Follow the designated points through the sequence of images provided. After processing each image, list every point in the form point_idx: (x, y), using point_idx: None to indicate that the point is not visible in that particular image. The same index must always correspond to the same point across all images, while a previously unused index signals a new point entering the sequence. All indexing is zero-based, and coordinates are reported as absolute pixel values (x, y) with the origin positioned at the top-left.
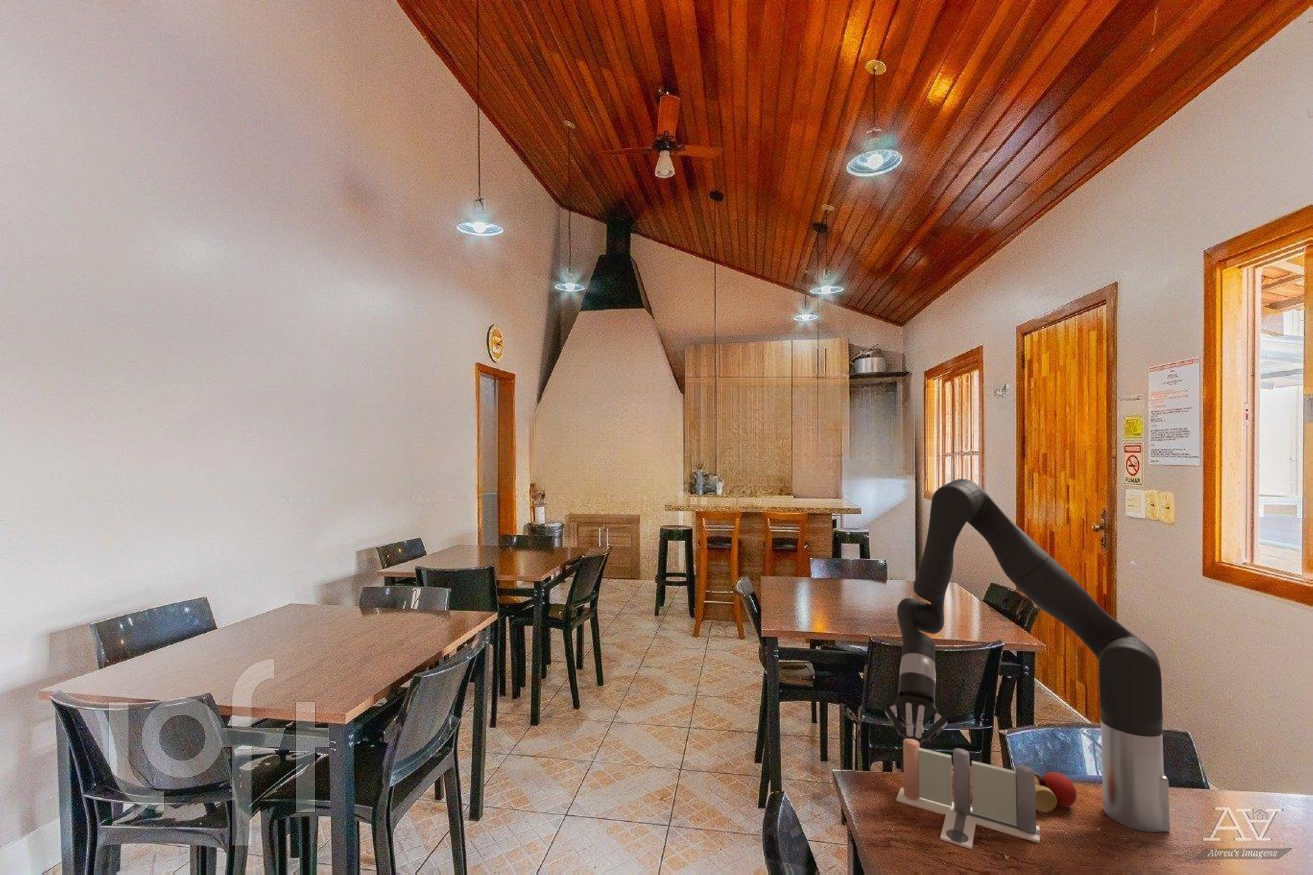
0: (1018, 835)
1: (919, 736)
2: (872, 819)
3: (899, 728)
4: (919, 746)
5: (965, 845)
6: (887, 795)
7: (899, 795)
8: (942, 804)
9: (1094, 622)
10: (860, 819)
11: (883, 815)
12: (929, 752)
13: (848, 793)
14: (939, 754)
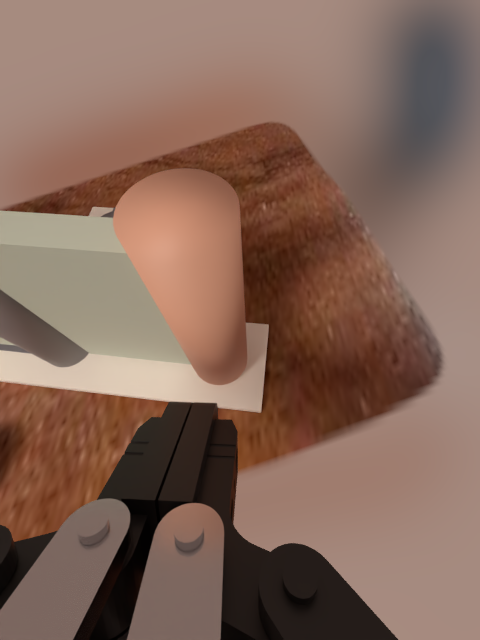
0: None
1: (86, 519)
2: (314, 220)
3: (315, 570)
4: (129, 464)
5: (106, 208)
6: (300, 347)
7: (261, 350)
8: (124, 357)
9: None
10: (341, 209)
11: (292, 245)
12: (71, 219)
13: (415, 304)
14: (10, 220)
